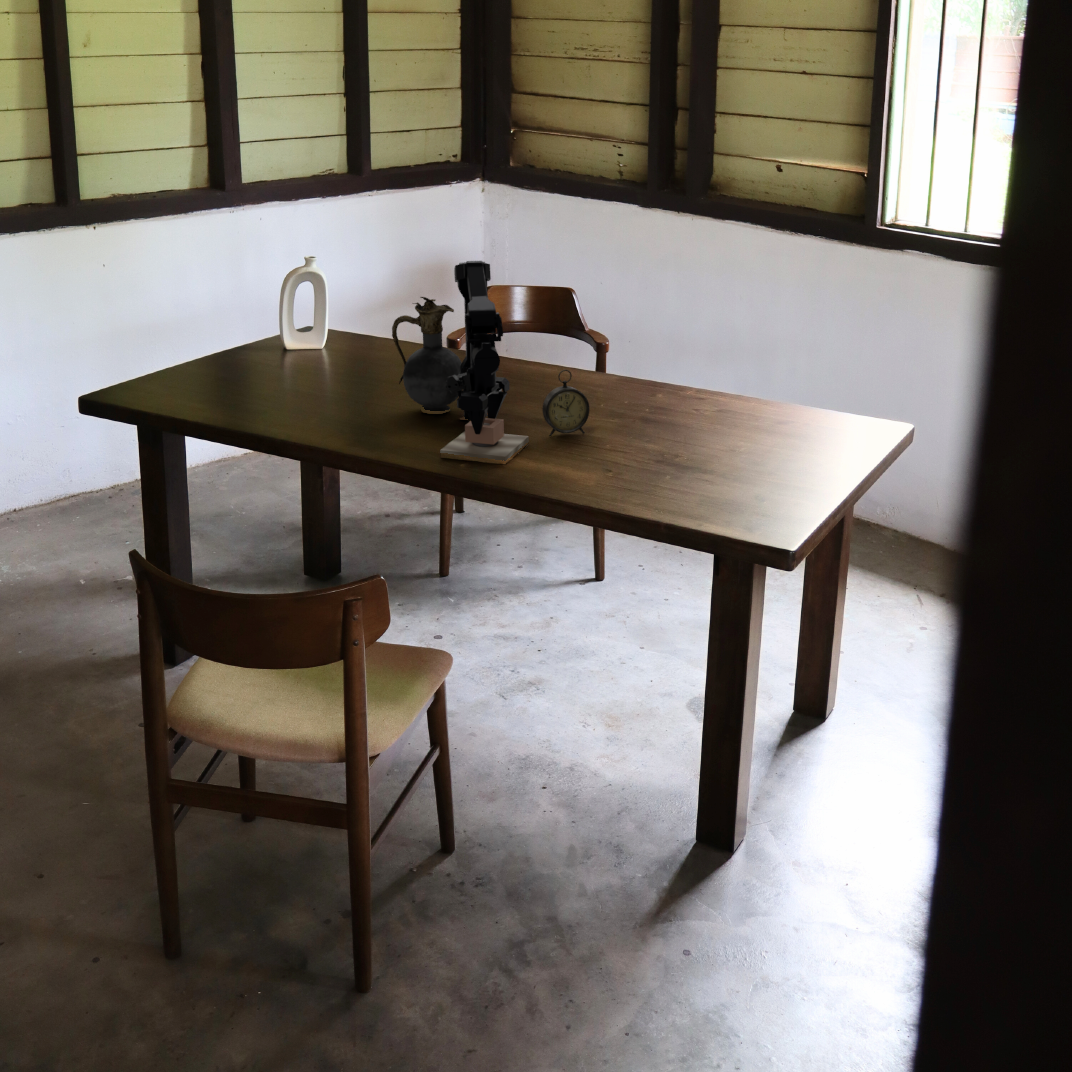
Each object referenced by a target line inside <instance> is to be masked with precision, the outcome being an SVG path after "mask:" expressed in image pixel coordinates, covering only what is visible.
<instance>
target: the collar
mask: <svg viewBox="0 0 1072 1072" xmlns="http://www.w3.org/2000/svg"><path fill="white" fill-rule="evenodd" d="M504 420H505V419H501V418H496V419H493V418H485V420H484V423H489V424H490V426H489V425H483V427H482V430H481V433H480V434H475V431H474V429H473V426H472V423H471V421H468V422H467V423H466V424H465V425H464V432H465V442H472V443H482V444H493V445H494V444H495V443H496V442H497V441H498V440H500V439H501V438H502V437H503V436H504V434H505V424H504V423H505V421H504Z"/></svg>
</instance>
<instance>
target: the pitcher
mask: <svg viewBox="0 0 1072 1072" xmlns="http://www.w3.org/2000/svg"><path fill="white" fill-rule="evenodd" d="M419 298H420V299H423V300H424V303H423V305H421V303H419V302H415V303H413V302H412V304H413V305H415V306H414V309H415V311H416V312H417V313H418V314H419V315H418V316H417V317H412V316H411V315H407V314H406V315H400V316H398V317H397V318H396V319H394V321H393V324H392V327H391V331H392V334H391V337H392V339H393V342H394V345H395V347H396V349H397V351H398V353H399V355H400V357H401V359H402V362H403V371H402V372H403V373H402V375H401V376H400V379H399V381H398V385H400V384H401V382H402V381H403V386H404V388H405V391H406V393H407V395H408V397H409V398H410V399H411V400H413V401H414V402H415V403H417V404H418V405H420V406H421V407H424V409H425V410H430V411H445V410H449V409H450V408H451V407H450V406H449V405H450V404H452V403H453V402H455V401H457V399H458V398H459V396H458V391H456V392H455V393H452V394H451V392H450V390H448V389H447V388H446V381H447V378H448V377H449V376H453V375H456V376H457V375H458V374H460V365H461V363H462V362H463V361H462V360H461V359H460V357H459V356H458V355H457V354H456V353H455V352H453V351H452V350H451V349H449V348H446V347H444V346H443V330H444V329H443V328H444V327H443V319H444V315H445V314H446V313H448V312H451V313H455V310H454V308H452V307H451V306H450V305H448V304H441V305H439V304H438V305H437V303H435V302H436V299H434V298H433V299H430V298H429V297H426V296H419ZM401 323H409V324H411V325H417V326H418V327H419V328H420V333H422V348H419V349H417V350H415V351H414V352H413V353H412V354H411V355H409V357H408V358H407V360H406V357H405V355H404V352H403V350H402V349H401V346H400V344H399V338H398V332H397V331H398V327H399V325H400V324H401Z"/></svg>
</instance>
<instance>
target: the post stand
mask: <svg viewBox="0 0 1072 1072" xmlns="http://www.w3.org/2000/svg"><path fill="white" fill-rule="evenodd" d="M483 425H489V426H490V424H489V423H484V424H483ZM529 437H530V436H528V435H521V434H520V435H518V434H511V433H509V434H508V433H504V436H503V437H502V438H501V439H500V440H498V441H497V442H496V443H495V444H494V445H493V444H482V443H472V442H465V431H463V432H462V433H460V434H459V435H458V436H457V437H456V438H454V439H453V440H451V441H450V442H448V443H447V444H446V445H444V447H442V448H441V449H440V450H439V451H440V453H448V454H454V455H464V456H470V457H478V458H488V459H495V460H502V461H503V460H504V461H506V460H507V459H508V458H510V457H511V456H512V455H513V454H514V453H515V452H517V451H518V450H519V449H520V448H522V446H524V445H525V444H526V443H528V442H529V443H530V441H529V440H530V439H529Z"/></svg>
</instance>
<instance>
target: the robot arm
mask: <svg viewBox="0 0 1072 1072" xmlns="http://www.w3.org/2000/svg"><path fill="white" fill-rule="evenodd" d="M453 273H454V282H455V283H456V285H457V288H458V292H459V293H460V294H461V296H462V297H463V305H464V329H465V330H464V332H465V333H464V334H465V339H464V340H465V357H464V358H463V360H462V361H461V362H462V363H461V365H460V374H458V375H457V376H456V375H453V376H449V377H448V378H447V381H446V388H447V389H448V390H450V392H451V394H452V393H455V392H456V391H458V398H457V399H456V407H457V408H458V409H460V410H461V411H463V415H464V417H465V419H468V420H471V423H472V426H473V429H474V431H475V434H480V433H481V430H482V427H483V424H484V420H485V417H486V416H488V418H493V419H497V416H498V414H499V412H500V409H501V407H502V405H503V402H504V400H505V399H506V396H507V395H508V392H509V391H510V381H509V380H508V378H506V377H499V376H497V372H499V366H500V364H501V359H500V354H499V353H498V351H497V349H496V342H502V337H503V336H504V329H503V328H504V327H503V318H502V317H501V316H500V313H499V312H497V310H496V309H497V308H496V305H495V303H494V302H493V301H491V300H490V299H489V296H488V295H489V294H488V282H490V281H491V279H492V278H491V277H492V276H491V264H490V263H486V261H483V260H466V262H465V261H464V262H459V264H455V266H454V270H453ZM487 413H488V415H487Z"/></svg>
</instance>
